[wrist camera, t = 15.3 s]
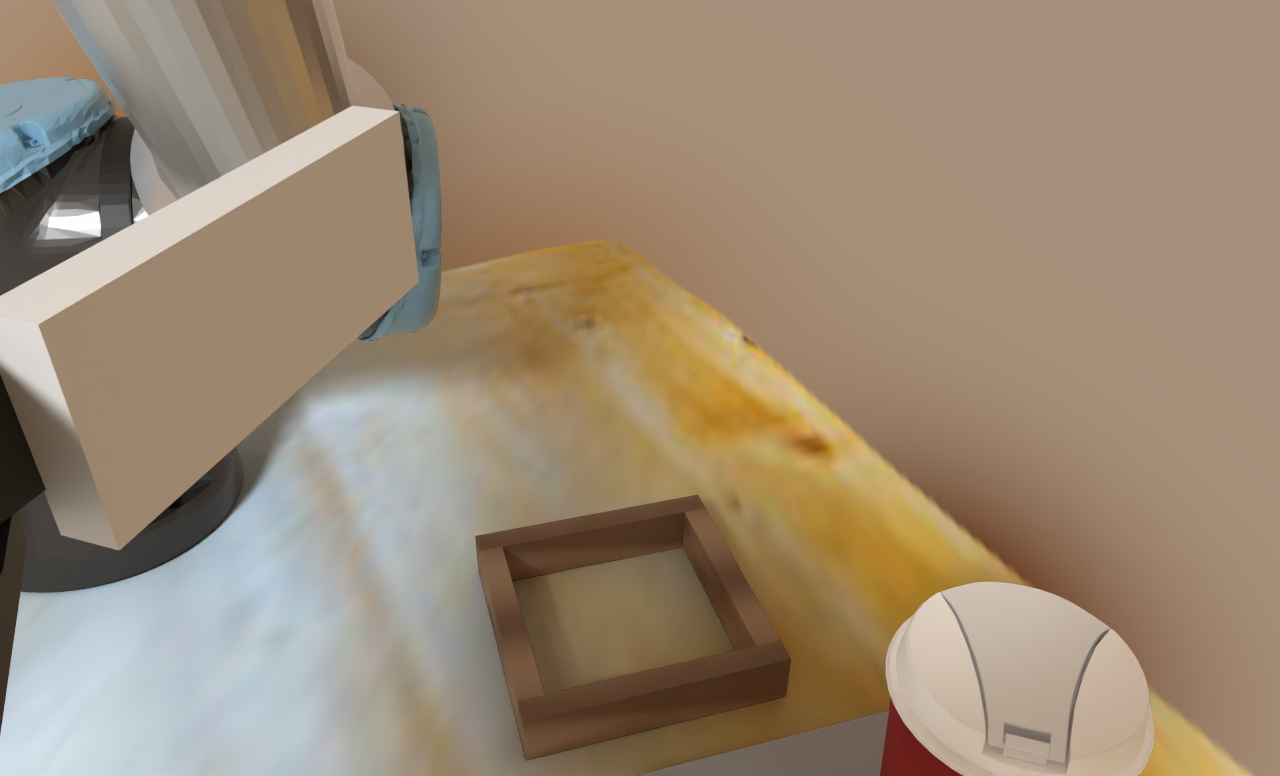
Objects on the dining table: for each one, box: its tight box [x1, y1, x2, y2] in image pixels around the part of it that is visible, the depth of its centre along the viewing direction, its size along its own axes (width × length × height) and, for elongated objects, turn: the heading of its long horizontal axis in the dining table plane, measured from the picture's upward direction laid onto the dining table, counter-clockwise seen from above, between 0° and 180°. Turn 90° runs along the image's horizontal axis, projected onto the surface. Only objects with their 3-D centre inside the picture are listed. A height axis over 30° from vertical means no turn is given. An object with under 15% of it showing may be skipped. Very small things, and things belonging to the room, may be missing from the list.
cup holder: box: [475, 495, 791, 760], centre depth 49 cm, size 12×12×2 cm
